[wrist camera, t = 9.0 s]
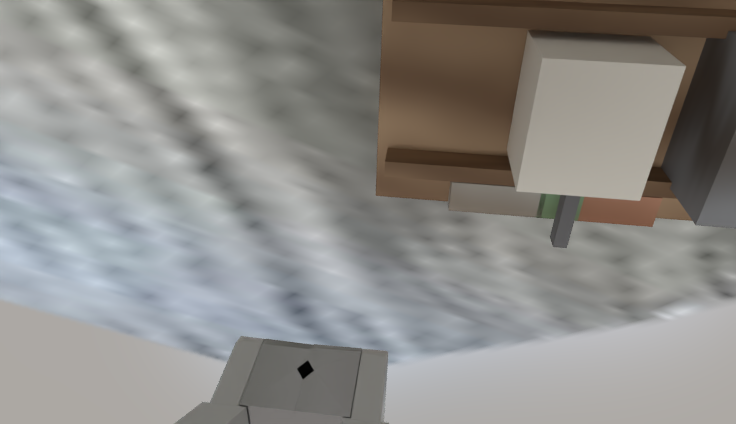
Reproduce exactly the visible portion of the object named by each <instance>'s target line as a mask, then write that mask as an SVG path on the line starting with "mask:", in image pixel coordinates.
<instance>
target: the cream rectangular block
mask: <svg viewBox="0 0 736 424" xmlns="http://www.w3.org/2000/svg"><path fill="white" fill-rule="evenodd" d="M685 68H686V66H685V65H684V64H683V63H682V62H680V61H679V60H678V59H677V58H675V57H674V56H673V55H672V54H671V53H669V52H668V51H667V50H666V49H664V48H663V47H662V46H661V45H660V44H658V43H657V42H656V41H655V40H653V39H652V38H651V37H646V36H627V35H608V34H589V33H570V32H550V31H531V30H528V33H527V38H526V44H525V50H524V55H523V61H522V66H521V72H520V78H519V83H518V89H517V95H516V100H515V106H514V111H513V117H512V123H511V128H510V134H509V139H508V145H507V153H508V158H509V162H510V166H511V171H512V175H513V179H514V184H515V188H516V191H518V192H531V193H544V194H557V195H560V199H559V203H558V207H557V211H556V215H555V219H554V223H553V227H552V231H551V235H550V238H551V242H552V245H553V247H560V248H567V245H568V241H569V238H570V234H571V230H572V227H573V223H574V219H575V216H576V212H577V208H578V205H579V201H580V197H581V196H583V197H596V198H609V199H622V200H635V201H640V199H641V197H642V194H643V191H644V188H645V185H646V182H647V179H648V176H649V173H650V170H651V167H652V164H653V162H654V159H655V156H656V153H657V150H658V147H659V144H660V141H661V138H662V135H663V132H664V130H665V127H666V124H667V121H668V118H669V115H670V112H671V109H672V106H673V103H674V100H675V98H676V95H677V92H678V89H679V86H680V83H681V80H682V77H683V74H684V71H685Z"/></svg>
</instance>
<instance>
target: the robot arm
mask: <svg viewBox="0 0 736 424" xmlns="http://www.w3.org/2000/svg"><path fill="white" fill-rule="evenodd" d="M387 366H388V351H380V350H370V349H361V348H350V347H339V346H328V345H317V344H314V345H311V344H303V343H295V342H287V341H279V340H271V339H261V338H252V337H244V336H241V337H240V338H239V339H238V341H237V342H236V343H235V346H234V348H233V350H232V353H231V355H230V357H229V360H228V362H227V364H226V367H225V369H224V371H223V374H222V376H221V378H220V381H219V383H218V385H217V387H216V390H215V392H214V394H213V397H212V399H211V402H210V403H207V402H202V403H201V404H199V405H198V406H197V407H195V408H194V409H193V410H192V411H190V412H189V413H188V414H186V415H185V416H184V417H182V418H181V419H180V420H178V421H177V422H176V423H174V424H389V423H385V422H384V412H385V395H386V381H387Z"/></svg>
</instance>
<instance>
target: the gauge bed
mask: <svg viewBox="0 0 736 424" xmlns="http://www.w3.org/2000/svg"><path fill="white" fill-rule="evenodd" d="M528 30H531V31H550V32H570V33H589V34H608V35H627V36H646V37H651V38H652V39H653V40H655V41H656V42H657V43H658V44H660V45H661V46H662V47H663V48H664V49H666V50H667V51H668V52H669V53H671V54H672V55H673V56H674V57H675V58H677V59H678V60H679V61H680V62H682V63H683V64H684V65H685V66H686V68H685V71H684V74H683V77H682V80H681V83H680V86H679V89H678V92H677V95H676V98H675V100H674V103H673V106H672V109H671V112H670V115H669V118H668V121H667V124H666V127H665V130H664V132H663V135H662V138H661V141H660V144H659V147H658V150H657V153H656V156H655V159H654V162H653V164H652V167H651V170H650V173H649V176H648V179H647V182H646V185H645V188H644V191H643V194H642V197H641V199H640V201H635V200H622V199H609V198H596V197H583V196H581V197H580V201H579V205H578V208H577V212H576V216H575V219H574V221H587V222H599V223H612V224H624V225H636V226H649V227H652V226H653V223H654V221H655V218H665V219H677V220H690V221H693V222H694V223H695V225H701V226H714V227H726V228H736V0H383V14H382V41H381V68H380V96H379V123H378V150H377V177H376V196H387V197H400V198H412V199H425V200H438V201H448V204H449V210H450V211H463V212H475V213H487V214H500V215H512V216H525V217H537V218H550V219H555V215H556V211H557V207H558V203H559V199H560V195H557V194H544V193H531V192H518V191H516V188H515V184H514V179H513V175H512V171H511V166H510V162H509V158H508V153H507V145H508V139H509V134H510V128H511V123H512V117H513V111H514V106H515V100H516V95H517V89H518V83H519V78H520V72H521V66H522V61H523V55H524V50H525V44H526V38H527V33H528Z"/></svg>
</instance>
